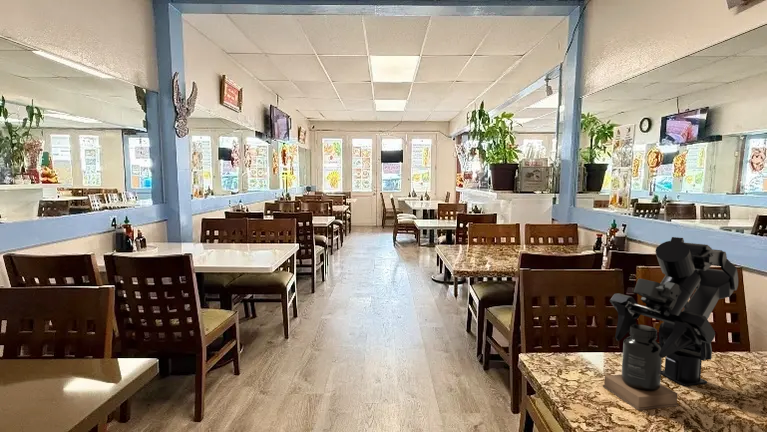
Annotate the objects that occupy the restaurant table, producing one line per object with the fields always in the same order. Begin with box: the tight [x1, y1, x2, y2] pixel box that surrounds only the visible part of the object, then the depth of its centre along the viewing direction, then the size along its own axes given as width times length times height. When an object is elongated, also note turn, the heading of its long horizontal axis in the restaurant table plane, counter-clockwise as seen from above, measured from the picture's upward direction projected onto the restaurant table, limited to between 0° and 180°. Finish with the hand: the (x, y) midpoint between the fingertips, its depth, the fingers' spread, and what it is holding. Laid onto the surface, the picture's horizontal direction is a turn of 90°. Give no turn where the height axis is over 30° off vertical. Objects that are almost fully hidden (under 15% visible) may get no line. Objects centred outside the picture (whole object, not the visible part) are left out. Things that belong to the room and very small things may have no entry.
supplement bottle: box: [621, 323, 663, 391], centre depth 83 cm, size 7×7×12 cm
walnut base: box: [602, 373, 679, 411], centre depth 83 cm, size 9×9×2 cm
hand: (637, 347), depth 82 cm, fingers open, 9 cm apart
